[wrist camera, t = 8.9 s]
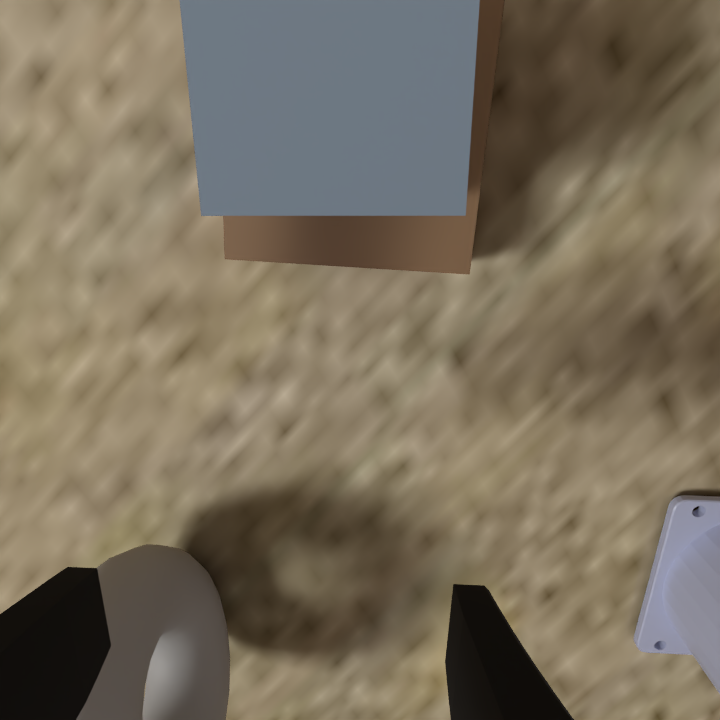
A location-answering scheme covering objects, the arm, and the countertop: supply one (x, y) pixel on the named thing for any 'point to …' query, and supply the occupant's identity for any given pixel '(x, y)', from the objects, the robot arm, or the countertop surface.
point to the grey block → (331, 105)
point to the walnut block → (385, 233)
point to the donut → (161, 640)
